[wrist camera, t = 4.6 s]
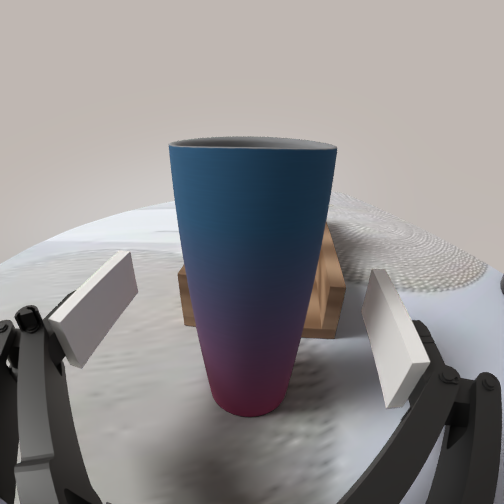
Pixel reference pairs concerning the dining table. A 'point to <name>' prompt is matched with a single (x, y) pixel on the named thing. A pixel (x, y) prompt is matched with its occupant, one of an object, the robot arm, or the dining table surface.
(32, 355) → the robot arm
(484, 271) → the dining table surface
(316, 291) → the wooden tray
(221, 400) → the cup
